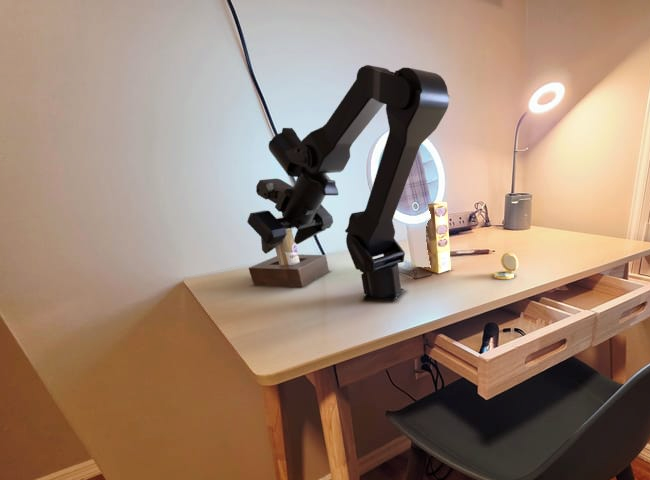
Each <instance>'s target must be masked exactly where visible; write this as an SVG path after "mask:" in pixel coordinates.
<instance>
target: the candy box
mask: <svg viewBox="0 0 650 480" xmlns="http://www.w3.org/2000/svg"><path fill="white" fill-rule="evenodd" d="M438 202H439V203H431V204H428V207H429V211H430V214H431V219H430V220H429V221H428V223H427V226H426V242H427V250H428V255H429V261H430V265H431V268H430V267H424V268H422V269H423V270H426V271H430V272H433V273H436V274H442V273H444V272H447V271H451V252H450V233H449V217H448V215H449V214H448V202H445V201H438Z"/></svg>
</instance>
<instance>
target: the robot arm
mask: <svg viewBox="0 0 650 480" xmlns="http://www.w3.org/2000/svg"><path fill="white" fill-rule="evenodd" d="M355 78H356V79H355V81H353V83H352V84H351V86H350V87H349V89H348V91H347V92H346V93H345V95H344V96H343V98H342V99H341V101H340V103H339V104H338V105H337V106H336V108H335V110H334V111H333V112H332V114H331V115H330V117H329V119H328V120H327V122H326V123H324V124H323V126H321V127H319V128H317V129H314V130H313V131H310V132H309V133H308V134H307V135H306V136H305V137H304V138H303V139H302V140H301V139H300V137H299V136H298V134H297V132H296V130H294V128H293V127H282V129H281V132H279V133H277V134H276V135H274V136H273V137H272V138H271V140H270V141H269V142H268V150H269V152H270V153H271V155H272V156H273V158H274V159H275V160H276V161H277V162H278V164H279V165H280V166H281V168H282V169H283V170H284V172H285V173H286V174H287V175H288V176H289V177H291V178H296V180H295V182H294V184H293V186H292V185H291V184H289V183H288V182H286V181H284V180H282V179H280V178H266V179H259V181H258V182H257V184H256V187H255V188H256V190H255V192H256V194H257V195H258V196H259V197H260V198H262V199H264V200H269V201H270V202H271V203H273V204H275V206H274V208H275V209H276V210H277V211H278V212H279V213H281V217H283V218H279V219H276V218H275V217H276V216H275V215H274V214H273V213H272V212H271V211H270V210H260V211H254V212H250V213H249V216H248V217H247V220H246V221H247V222H246V223H247V224H248V225H249V226H250V227H251V228H252V229H253V230H254V232H255V233H256V234H257V235H258V236H260V243H261V251H262V252H263V253H264V254H266V255H267V254H268V253H270V252H271V251H273V250H275V247H277V246H278V245H279V244H281V243H282V242H283V239H284V238H285V237H286V235H287V234H286V230H289V229H292V230H293V229H296V233H295V234H294V242H295V245H299V244H301V243H303V242H305V241H307V240H308V239H310V238H312V237H314V236H316V235H318V234H320V233H322V232H324V231H326V230H328V229H331V227H332V225H333V224H334V219H333V216H332V214H330V212H329V211H328V210H327V209H326V208H325V207H324V206H323V204H322V203H323V201H324V199H325V198H326V196H335V197H336V196H339V189H338V187H337V185H336V180H335V179H331V178H330V176H329V174H334V173H342V172H343V171H344V170H345V168H346V166H347V164H348V162H349V161H350V158H351V156H352V155H351V148H352V146H353V143H355V141H357V139H358V138H359V136H360V135H361V134H362V132H363V131H364V130H365V129H366V128H367V126H368V125H369V124H370V123H371V121H372V120H373V119H374V118H375V116H376V115H377V114H378V113H379V111H380V110H381V109H382V108H383V106H384V105H385V113H386V116H387V117H386V118H387V122H388V128H389V132H388V135H387V138H386V142H385V145H384V148H383V151H382V154H381V157H380V160H379V164H378V168H377V170H376V174H375V177H374V181H373V183H372V187H371V190H370V193H369V197H368V199H367V203H366V206H365V209H364V210H363V211H356V212H352V213H351V214H350V215H349V218H348V224H347V227H346V229H345V230H344V232H345V233H347V234H346V236H345V237H346V238H345V243H346V248H347V250H348V253H349V255H350V258H351V261H352V264H353V265H354V268H355V270H358V271H359V272H361V275H360V276H361V277H360V278H361V283H362V290H363V294H364V296H363V297H362V299H363V301H373V302H395V301H396V300H397V299H398V298H399V297H400V296H401V295H402V294H403V293H404V292H405V289H404V288H402V285H401V277H400V269H399V264H400V263H401V264H402V263H404V261H405V255H406V252H405V251H404V250H403V247H401V245H400V244H399V242H397V240H396V239H395V235H396V229H395V225H394V222H393V219H394V216H395V214H396V211H397V208H398V206H399V203H400V200H401V199H402V195H403V192H404V190H405V187H406V184H407V183H408V179H409V176H410V174H411V171H412V169H413V166H414V163H415V160H416V158H417V156H418V152H419V150H420V147H421V146H422V144H423V143H424V142H425V141H426V140H427V139H428V138H429V137H430V136H431V135H432V134H433V133H434V132H435V131H436V129H437V128H438V127H439V125H440V123H441V121H442V119H444V116H445V114H446V112H447V110H448V108H449V105H450V95H449V91H448V86H447V83H446V81H445V80H444V78H443V77H442V76H441V75H440V74H437V73H436V72H433V71H426V70H422V69H417V68H412V67H405V66H404V67H403V66H402V67H401V68H399V69H398V70H397V69H396V70H395V71H390V69H388V68H386V67H381V66H376V65H370V64H366V65H363V66H361V67H360V68H359V69H358V70H357V73H356V77H355ZM381 255H383V256H381ZM378 256H379V257H378Z"/></svg>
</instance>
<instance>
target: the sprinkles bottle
mask: <svg viewBox="0 0 650 480" xmlns="http://www.w3.org/2000/svg"><path fill="white" fill-rule="evenodd" d="M275 218H276V219H279V218H283V216H275ZM286 234H287V235H286V237H285V238H284V239H283V242H282V243H281V244H279V245H278V246H277V247H275V248H274V250H275V252H276V256H277V257H278V261H279V264H280V265H295V264H297V263H299V262H300V260H299V256H298V255H299V253H298V248H297V244H296V243H295V242H294V238H295V236H294V234H293V229H289V230H286Z"/></svg>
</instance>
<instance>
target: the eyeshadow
mask: <svg viewBox="0 0 650 480" xmlns="http://www.w3.org/2000/svg"><path fill="white" fill-rule="evenodd" d="M500 263H501V265H502V268H503V269H504V270H497V271H495V272H494V274H493V276H494V278H495V279H498V280H510V279H513V278H515V277H514V276H515V275H514V272H515V271H516V270H517V269H518V267H519V260H518V258H517V256H516V255H515V254H514V253H512V252H505V253H504V254H502V256H501V258H500Z"/></svg>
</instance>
